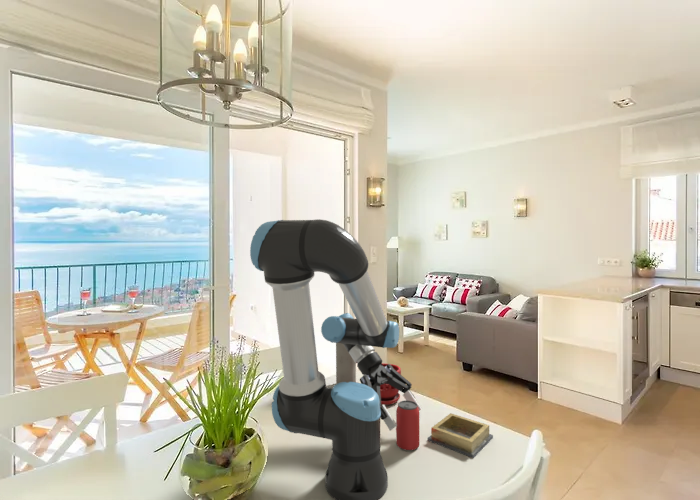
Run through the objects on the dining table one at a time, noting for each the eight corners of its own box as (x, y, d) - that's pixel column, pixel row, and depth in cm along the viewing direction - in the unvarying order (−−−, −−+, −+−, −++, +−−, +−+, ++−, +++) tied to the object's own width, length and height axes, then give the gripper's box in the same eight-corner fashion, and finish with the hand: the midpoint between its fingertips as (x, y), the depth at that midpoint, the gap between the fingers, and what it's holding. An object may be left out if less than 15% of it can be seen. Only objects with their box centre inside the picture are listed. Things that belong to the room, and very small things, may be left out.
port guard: (473, 457, 106) (473, 444, 105) (427, 440, 115) (427, 427, 115) (492, 437, 116) (493, 425, 116) (449, 423, 125) (449, 411, 125)
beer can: (392, 448, 111) (392, 406, 110) (401, 437, 117) (400, 397, 116) (415, 454, 108) (415, 411, 107) (422, 442, 114) (422, 402, 113)
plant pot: (401, 394, 149) (401, 362, 149) (400, 408, 136) (400, 374, 136) (367, 391, 151) (367, 361, 151) (363, 406, 138) (362, 372, 138)
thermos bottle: (332, 384, 159) (331, 316, 158) (346, 380, 164) (346, 313, 163) (345, 390, 153) (344, 319, 152) (359, 385, 158) (359, 316, 157)
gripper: (382, 355, 134) (420, 410, 125) (333, 375, 115) (373, 442, 106) (395, 342, 130) (435, 398, 121) (346, 361, 111) (390, 429, 102)
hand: (406, 419), depth 114 cm, fingers open, 13 cm apart
